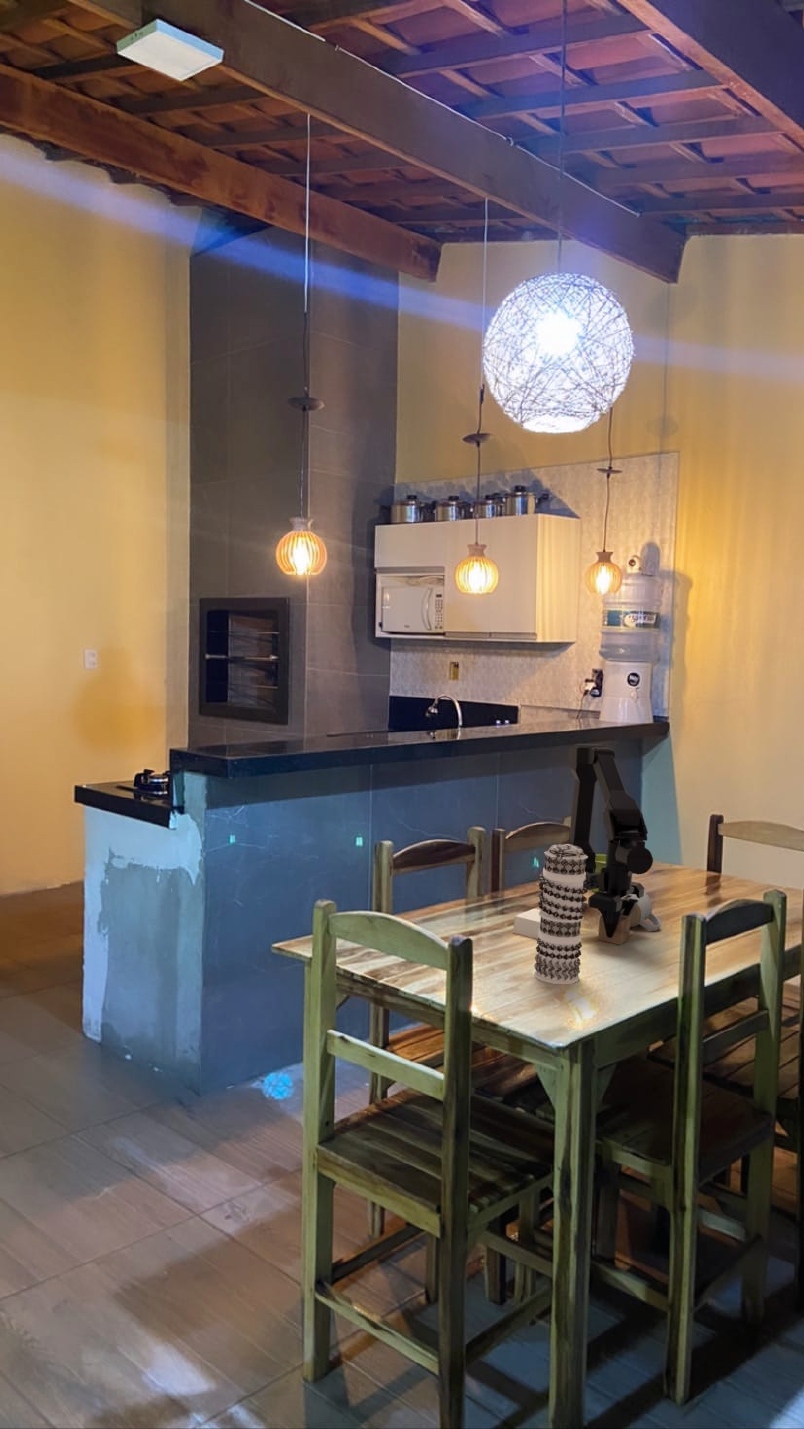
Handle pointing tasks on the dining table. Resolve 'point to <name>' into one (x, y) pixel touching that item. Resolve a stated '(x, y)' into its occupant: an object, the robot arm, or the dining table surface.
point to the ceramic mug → (643, 913)
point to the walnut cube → (616, 931)
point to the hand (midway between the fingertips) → (613, 934)
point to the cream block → (527, 923)
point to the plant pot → (599, 866)
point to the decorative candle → (561, 914)
